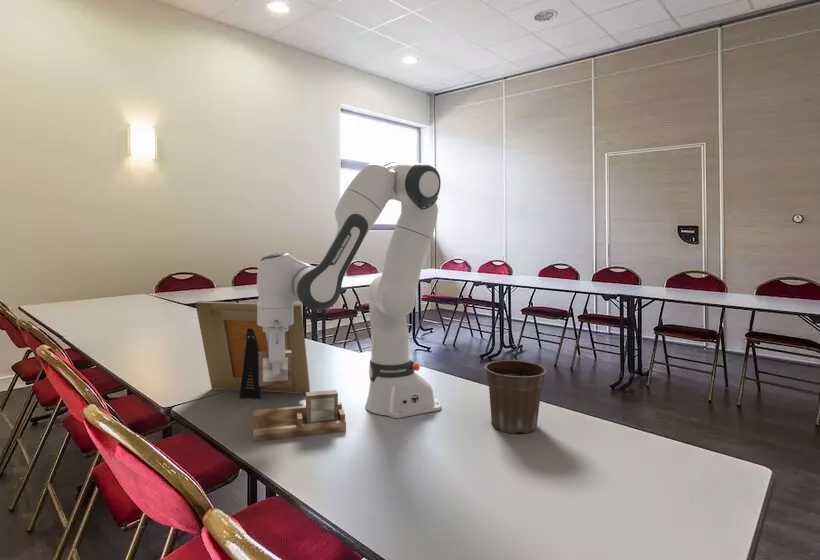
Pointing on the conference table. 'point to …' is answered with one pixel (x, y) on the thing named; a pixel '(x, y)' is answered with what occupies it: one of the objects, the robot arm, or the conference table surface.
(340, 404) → the oak rail
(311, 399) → the frame
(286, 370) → the walnut frame
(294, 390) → the picture frame
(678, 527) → the conference table surface
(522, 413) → the plant pot
